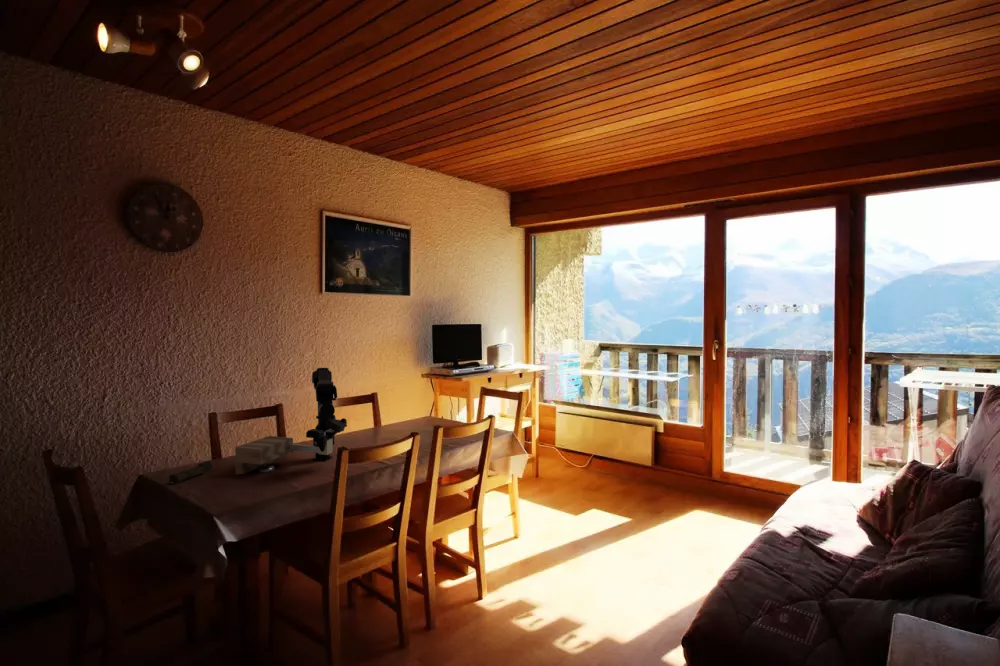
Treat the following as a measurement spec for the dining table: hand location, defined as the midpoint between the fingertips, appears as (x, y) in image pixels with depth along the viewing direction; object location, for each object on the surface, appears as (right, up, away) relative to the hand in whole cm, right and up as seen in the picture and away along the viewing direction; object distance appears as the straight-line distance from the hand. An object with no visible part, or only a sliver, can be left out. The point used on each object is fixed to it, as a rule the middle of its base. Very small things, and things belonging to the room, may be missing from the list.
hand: (325, 450), depth 224 cm
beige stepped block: (-25, -8, 0) cm, 26 cm away
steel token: (-24, -8, -2) cm, 25 cm away
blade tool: (-7, -1, +2) cm, 8 cm away
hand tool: (-49, -8, -12) cm, 51 cm away
